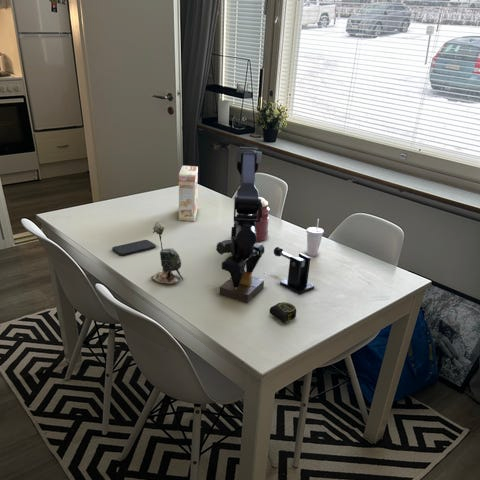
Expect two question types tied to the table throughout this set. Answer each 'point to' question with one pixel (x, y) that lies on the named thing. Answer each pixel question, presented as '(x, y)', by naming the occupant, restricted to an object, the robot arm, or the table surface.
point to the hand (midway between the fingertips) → (242, 281)
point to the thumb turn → (246, 279)
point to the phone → (133, 247)
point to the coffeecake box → (188, 193)
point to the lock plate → (241, 290)
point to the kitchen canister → (262, 221)
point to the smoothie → (314, 239)
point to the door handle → (286, 255)
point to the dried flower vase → (167, 262)
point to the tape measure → (283, 311)
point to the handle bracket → (298, 275)
